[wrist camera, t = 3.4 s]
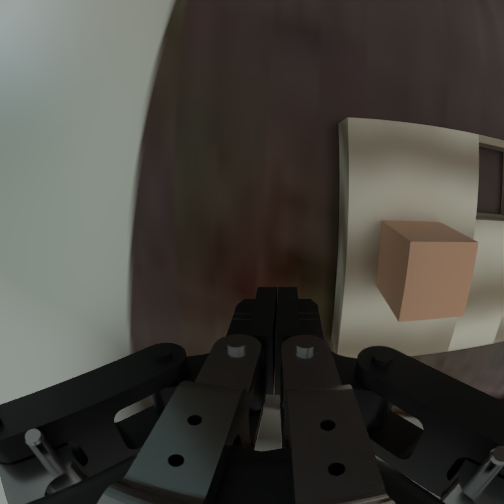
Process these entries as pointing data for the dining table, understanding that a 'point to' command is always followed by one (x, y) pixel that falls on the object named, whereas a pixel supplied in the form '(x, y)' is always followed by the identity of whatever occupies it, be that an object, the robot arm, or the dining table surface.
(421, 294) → the block
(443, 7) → the dining table surface
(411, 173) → the checkered shape sorter board
